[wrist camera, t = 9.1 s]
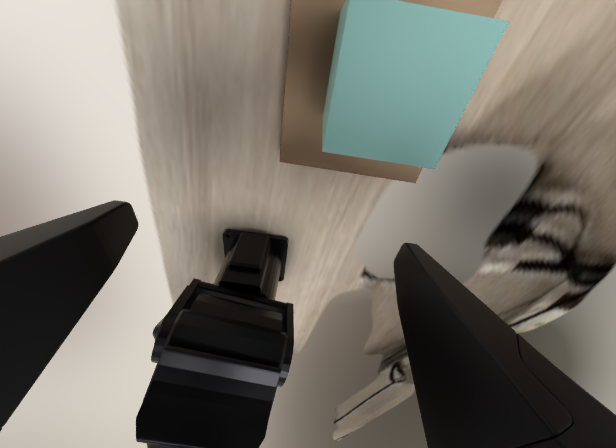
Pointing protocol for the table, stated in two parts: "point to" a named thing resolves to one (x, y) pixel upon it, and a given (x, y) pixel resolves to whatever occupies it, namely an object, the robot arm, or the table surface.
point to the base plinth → (314, 82)
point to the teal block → (403, 79)
